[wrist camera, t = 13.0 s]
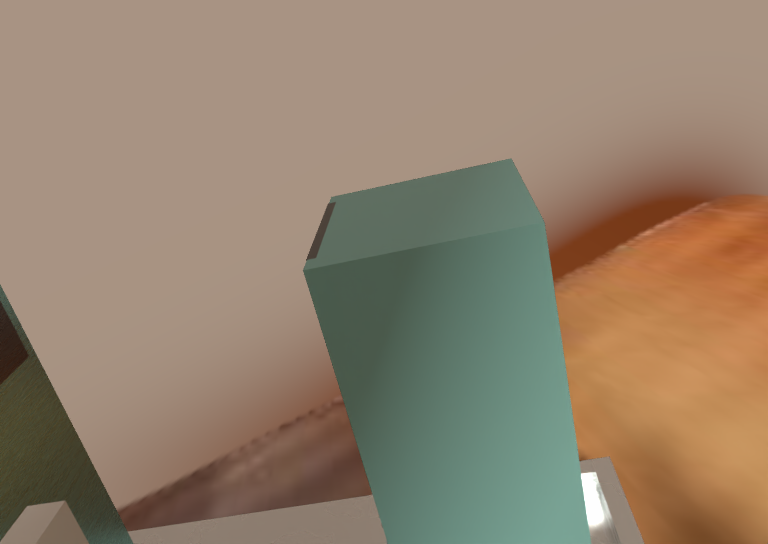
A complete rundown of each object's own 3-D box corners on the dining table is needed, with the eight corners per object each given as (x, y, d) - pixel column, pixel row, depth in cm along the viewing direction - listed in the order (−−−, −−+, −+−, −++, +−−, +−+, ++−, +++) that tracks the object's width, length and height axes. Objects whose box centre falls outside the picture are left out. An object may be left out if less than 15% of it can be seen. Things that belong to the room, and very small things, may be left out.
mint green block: (570, 528, 20) (511, 158, 16) (609, 666, 16) (544, 222, 12) (428, 547, 21) (330, 197, 16) (430, 685, 17) (302, 270, 12)
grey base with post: (609, 503, 24) (561, 119, 18) (732, 835, 14) (707, 263, 9) (93, 576, 26) (-84, 261, 21) (-78, 894, 17) (-472, 482, 12)
